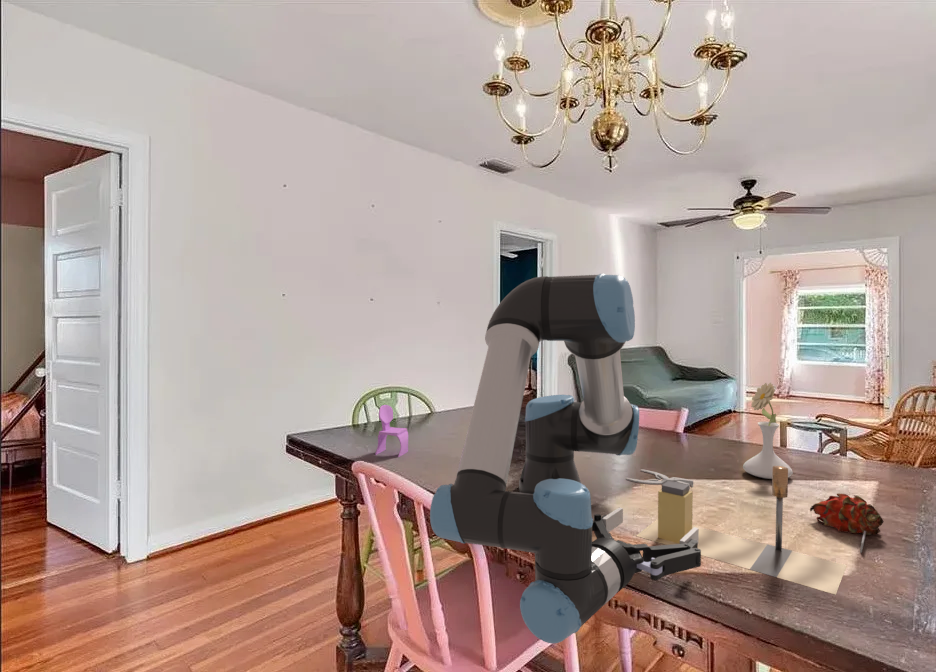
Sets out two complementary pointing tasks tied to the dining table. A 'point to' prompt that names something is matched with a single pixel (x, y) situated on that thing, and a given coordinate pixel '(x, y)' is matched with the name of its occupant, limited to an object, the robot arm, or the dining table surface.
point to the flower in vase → (765, 438)
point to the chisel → (779, 499)
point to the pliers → (665, 479)
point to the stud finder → (674, 511)
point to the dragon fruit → (848, 514)
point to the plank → (763, 558)
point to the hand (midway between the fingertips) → (656, 524)
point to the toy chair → (390, 431)
